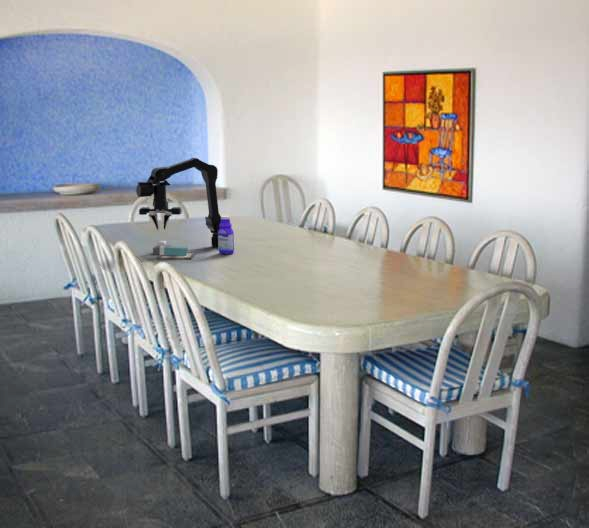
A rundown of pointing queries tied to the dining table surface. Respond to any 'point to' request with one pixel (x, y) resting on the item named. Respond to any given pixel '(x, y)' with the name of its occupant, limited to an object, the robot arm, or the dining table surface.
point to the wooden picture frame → (189, 256)
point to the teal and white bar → (173, 250)
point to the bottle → (225, 236)
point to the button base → (157, 249)
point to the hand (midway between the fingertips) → (161, 229)
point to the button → (161, 243)
